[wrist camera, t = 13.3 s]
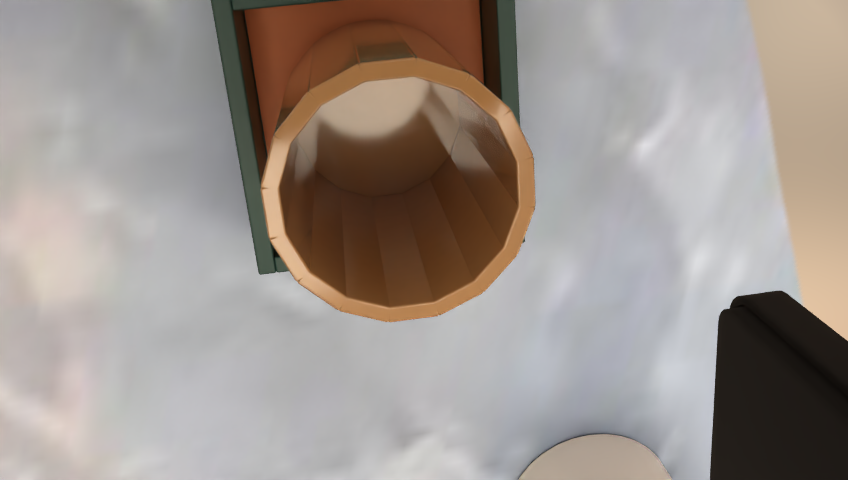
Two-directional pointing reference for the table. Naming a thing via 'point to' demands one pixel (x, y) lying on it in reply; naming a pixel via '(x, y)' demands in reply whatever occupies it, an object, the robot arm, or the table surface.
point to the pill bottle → (597, 461)
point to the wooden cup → (394, 175)
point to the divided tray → (306, 23)
